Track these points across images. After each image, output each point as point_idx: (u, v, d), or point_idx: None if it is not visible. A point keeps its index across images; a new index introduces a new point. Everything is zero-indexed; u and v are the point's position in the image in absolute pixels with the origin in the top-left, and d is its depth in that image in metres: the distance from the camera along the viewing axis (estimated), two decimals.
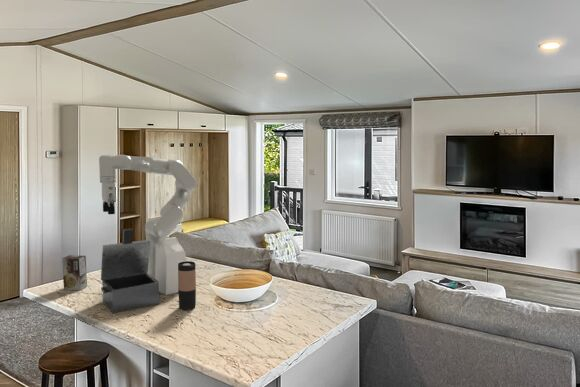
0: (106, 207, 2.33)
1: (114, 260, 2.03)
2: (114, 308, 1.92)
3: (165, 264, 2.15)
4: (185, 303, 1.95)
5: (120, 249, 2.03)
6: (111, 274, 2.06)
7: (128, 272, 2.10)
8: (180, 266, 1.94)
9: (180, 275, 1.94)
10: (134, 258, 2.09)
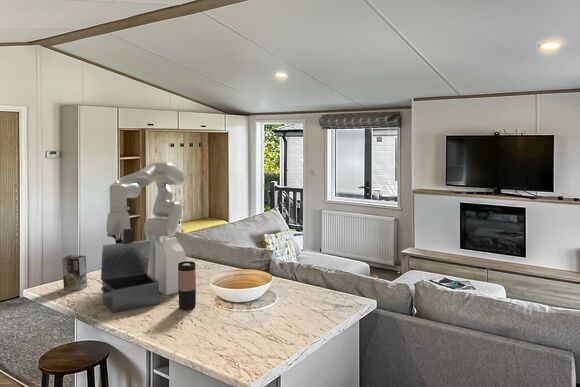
0: None
1: (114, 260, 2.03)
2: (114, 308, 1.92)
3: (165, 264, 2.15)
4: (185, 303, 1.95)
5: (120, 249, 2.03)
6: (111, 274, 2.06)
7: (128, 272, 2.10)
8: (180, 266, 1.94)
9: (180, 275, 1.94)
10: (134, 258, 2.09)
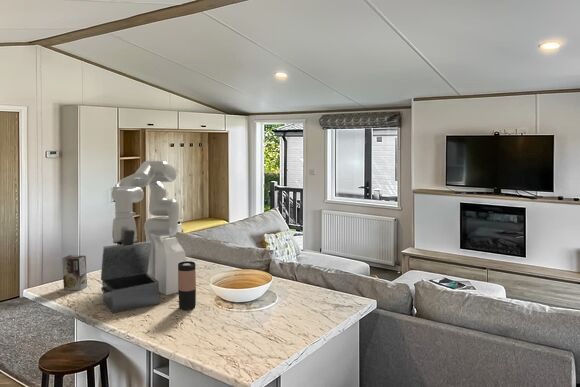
0: None
1: (114, 261, 2.03)
2: (114, 308, 1.92)
3: (165, 264, 2.15)
4: (185, 303, 1.95)
5: (121, 250, 2.02)
6: (111, 274, 2.06)
7: (128, 272, 2.10)
8: (180, 266, 1.94)
9: (180, 275, 1.94)
10: (134, 259, 2.08)
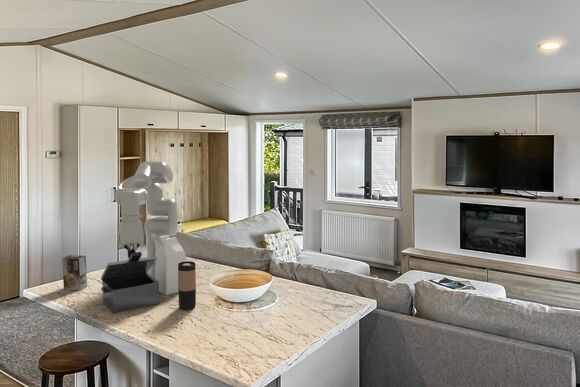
0: None
1: (117, 270, 2.00)
2: (114, 308, 1.92)
3: (165, 264, 2.15)
4: (185, 303, 1.95)
5: (125, 265, 1.97)
6: (112, 277, 2.05)
7: (128, 274, 2.09)
8: (180, 266, 1.94)
9: (180, 275, 1.94)
10: (137, 267, 2.05)
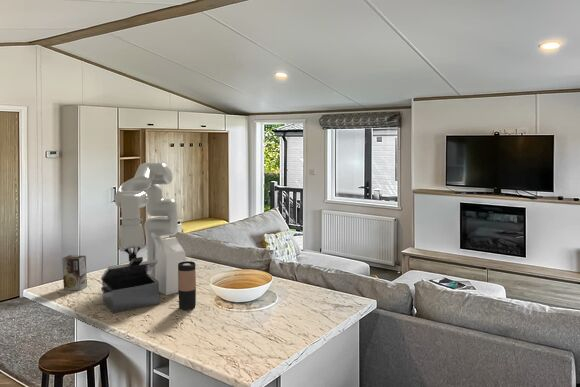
0: None
1: (117, 272, 2.00)
2: (114, 308, 1.92)
3: (165, 264, 2.15)
4: (185, 303, 1.95)
5: (125, 268, 1.97)
6: (112, 277, 2.05)
7: (128, 274, 2.09)
8: (180, 266, 1.94)
9: (180, 275, 1.94)
10: (137, 269, 2.05)
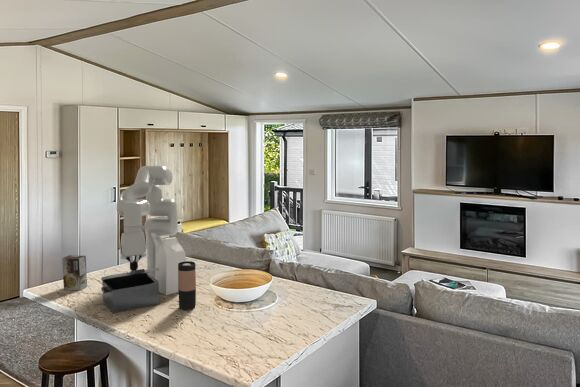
0: None
1: None
2: (114, 308, 1.92)
3: (165, 264, 2.15)
4: (185, 303, 1.95)
5: (126, 275, 1.96)
6: (112, 278, 2.05)
7: None
8: (180, 266, 1.94)
9: (180, 275, 1.94)
10: None
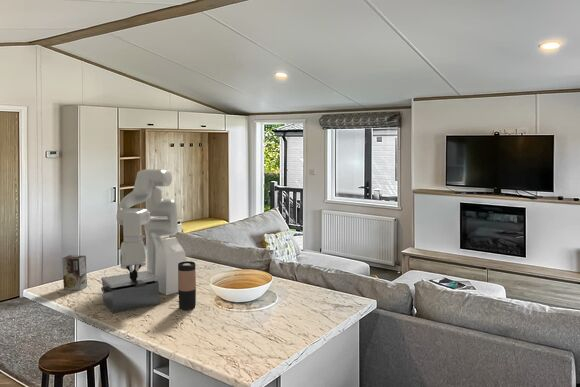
0: None
1: None
2: (114, 308, 1.92)
3: (165, 264, 2.15)
4: (185, 303, 1.95)
5: None
6: None
7: None
8: (180, 266, 1.94)
9: (180, 275, 1.94)
10: None
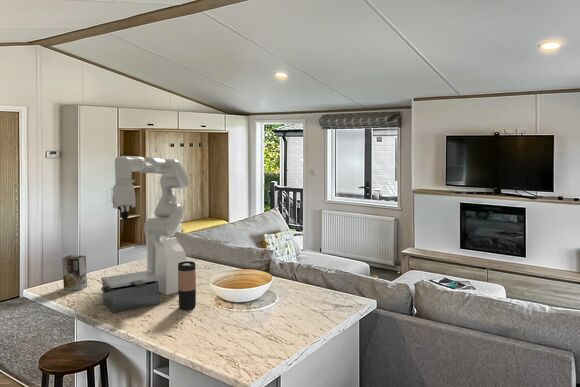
0: None
1: None
2: (114, 308, 1.92)
3: (165, 264, 2.15)
4: (185, 303, 1.95)
5: None
6: None
7: None
8: (180, 266, 1.94)
9: (180, 275, 1.94)
10: None
